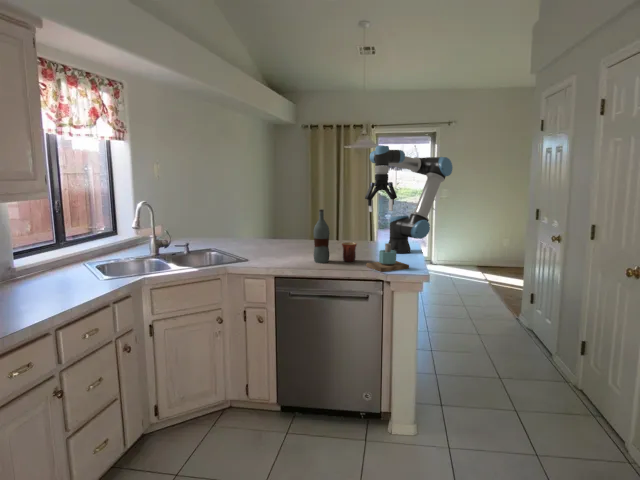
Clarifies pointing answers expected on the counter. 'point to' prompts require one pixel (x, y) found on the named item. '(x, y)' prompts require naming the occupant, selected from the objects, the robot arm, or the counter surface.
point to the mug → (349, 251)
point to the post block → (387, 267)
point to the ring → (387, 257)
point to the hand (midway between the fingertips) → (380, 211)
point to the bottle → (321, 240)
